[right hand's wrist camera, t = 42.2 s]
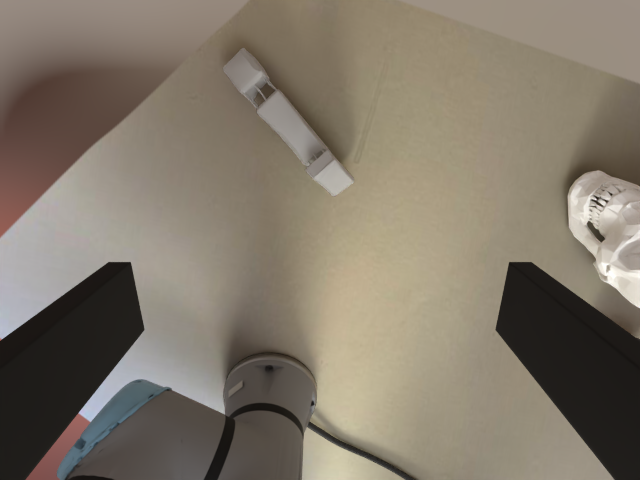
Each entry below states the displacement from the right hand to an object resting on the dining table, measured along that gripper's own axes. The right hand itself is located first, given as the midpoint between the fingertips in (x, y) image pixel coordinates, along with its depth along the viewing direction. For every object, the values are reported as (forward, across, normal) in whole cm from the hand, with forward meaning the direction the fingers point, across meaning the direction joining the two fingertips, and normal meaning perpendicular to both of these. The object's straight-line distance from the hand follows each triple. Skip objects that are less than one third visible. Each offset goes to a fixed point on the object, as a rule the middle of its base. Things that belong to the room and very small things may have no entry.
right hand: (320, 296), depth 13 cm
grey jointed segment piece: (+36, -3, +4) cm, 37 cm away
